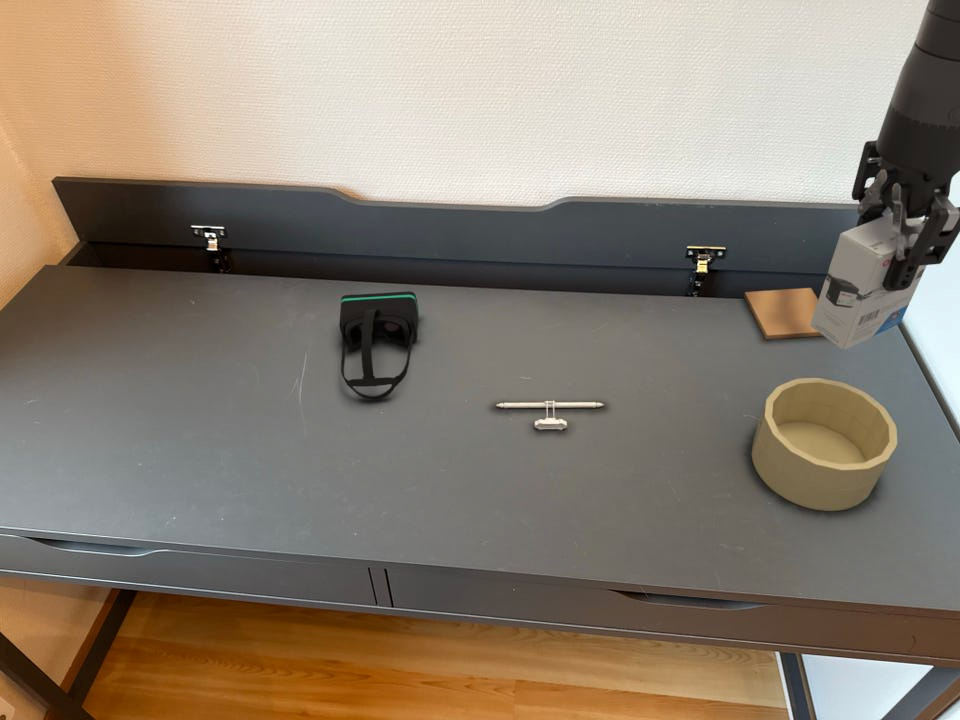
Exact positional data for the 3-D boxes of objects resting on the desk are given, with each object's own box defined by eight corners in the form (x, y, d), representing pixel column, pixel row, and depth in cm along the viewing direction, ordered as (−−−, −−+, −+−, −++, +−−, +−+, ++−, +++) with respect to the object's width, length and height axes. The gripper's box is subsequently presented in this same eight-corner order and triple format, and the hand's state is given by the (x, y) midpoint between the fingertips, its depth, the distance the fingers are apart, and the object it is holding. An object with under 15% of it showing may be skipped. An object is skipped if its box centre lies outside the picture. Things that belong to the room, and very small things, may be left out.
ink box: (865, 299, 78) (902, 205, 70) (903, 324, 74) (946, 229, 66) (806, 325, 75) (837, 231, 67) (842, 352, 72) (880, 256, 64)
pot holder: (809, 291, 107) (810, 287, 106) (836, 334, 100) (838, 330, 99) (743, 296, 107) (744, 292, 106) (765, 339, 100) (767, 335, 99)
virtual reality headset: (419, 317, 107) (411, 268, 99) (417, 407, 96) (408, 360, 88) (347, 321, 107) (333, 273, 99) (336, 411, 96) (320, 365, 88)
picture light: (603, 404, 92) (604, 393, 91) (606, 429, 89) (607, 418, 88) (496, 405, 93) (495, 394, 92) (495, 430, 90) (495, 419, 88)
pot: (844, 416, 88) (863, 374, 83) (895, 507, 79) (921, 465, 73) (736, 424, 89) (749, 381, 83) (774, 514, 79) (790, 473, 74)
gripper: (1042, 138, 53) (954, 310, 64) (941, 66, 63) (880, 225, 75) (943, 146, 53) (872, 316, 64) (858, 73, 63) (810, 231, 75)
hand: (877, 267), depth 70 cm, fingers closed on ink box, 6 cm apart
